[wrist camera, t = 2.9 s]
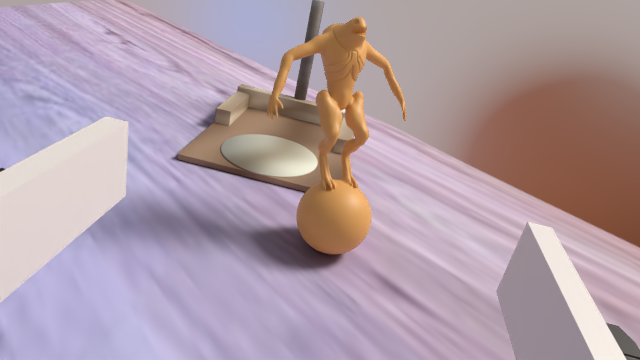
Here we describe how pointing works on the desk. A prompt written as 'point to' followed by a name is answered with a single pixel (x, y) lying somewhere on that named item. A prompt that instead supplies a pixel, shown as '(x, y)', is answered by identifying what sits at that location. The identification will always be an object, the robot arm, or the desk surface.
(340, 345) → the desk surface
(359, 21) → the figurine
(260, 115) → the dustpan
